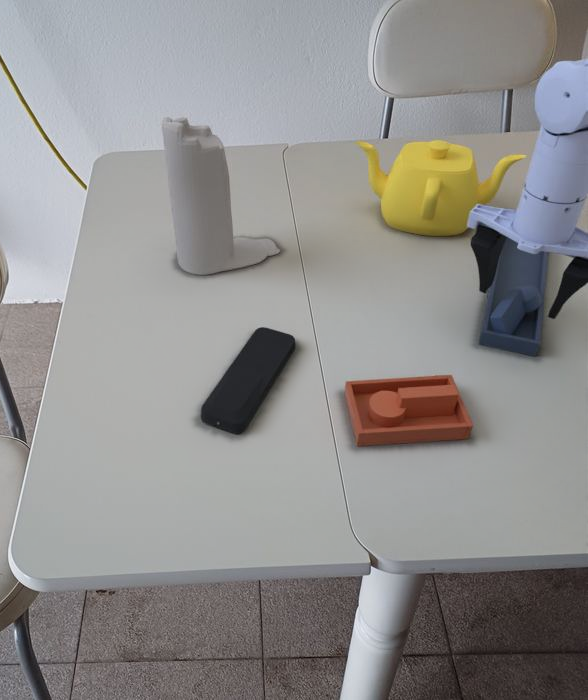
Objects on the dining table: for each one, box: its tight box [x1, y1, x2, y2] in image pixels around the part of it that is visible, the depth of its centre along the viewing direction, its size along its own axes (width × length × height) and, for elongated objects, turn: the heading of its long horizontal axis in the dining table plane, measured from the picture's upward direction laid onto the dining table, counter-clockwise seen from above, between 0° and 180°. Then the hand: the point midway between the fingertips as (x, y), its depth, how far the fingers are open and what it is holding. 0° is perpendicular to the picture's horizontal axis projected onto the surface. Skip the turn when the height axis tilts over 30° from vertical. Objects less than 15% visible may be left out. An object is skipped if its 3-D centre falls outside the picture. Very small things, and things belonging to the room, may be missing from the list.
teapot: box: [355, 139, 527, 237], centre depth 88 cm, size 22×16×11 cm
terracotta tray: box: [344, 374, 474, 447], centre depth 65 cm, size 11×7×2 cm, turn 93°
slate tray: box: [478, 237, 549, 357], centre depth 79 cm, size 25×6×2 cm, turn 158°
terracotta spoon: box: [368, 385, 460, 428], centre depth 64 cm, size 8×4×3 cm, turn 93°
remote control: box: [200, 326, 297, 434], centre depth 69 cm, size 5×2×15 cm
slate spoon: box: [490, 286, 542, 335], centre depth 74 cm, size 8×4×3 cm, turn 142°
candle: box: [161, 116, 281, 276], centre depth 81 cm, size 7×14×20 cm, turn 106°
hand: (518, 300), depth 71 cm, fingers open, 7 cm apart
